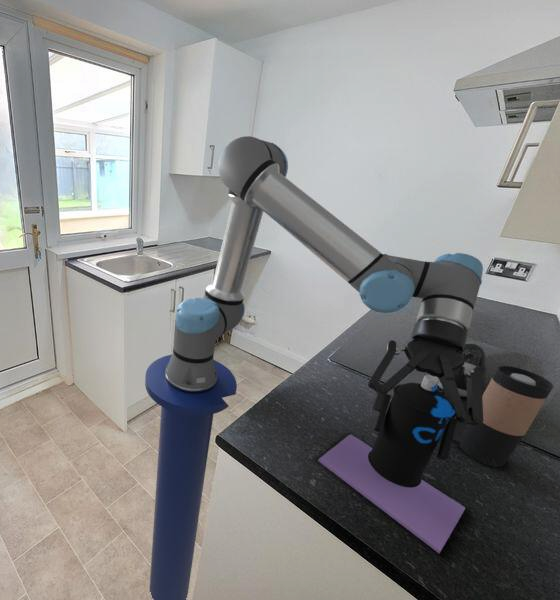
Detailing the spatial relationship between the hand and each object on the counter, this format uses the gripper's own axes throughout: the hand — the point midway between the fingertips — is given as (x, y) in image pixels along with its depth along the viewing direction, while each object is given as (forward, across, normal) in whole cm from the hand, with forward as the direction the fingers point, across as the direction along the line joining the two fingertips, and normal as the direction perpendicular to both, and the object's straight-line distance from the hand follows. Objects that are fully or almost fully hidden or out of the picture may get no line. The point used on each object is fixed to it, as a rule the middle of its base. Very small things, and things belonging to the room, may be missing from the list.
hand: (408, 443), depth 52 cm
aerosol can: (+4, 0, -9) cm, 9 cm away
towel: (+7, 0, -11) cm, 13 cm away
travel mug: (-10, -16, -28) cm, 34 cm away
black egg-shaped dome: (-28, -12, -47) cm, 56 cm away
